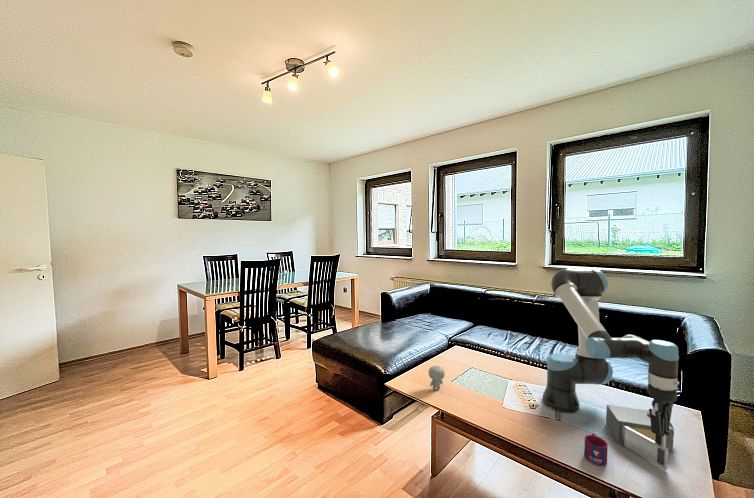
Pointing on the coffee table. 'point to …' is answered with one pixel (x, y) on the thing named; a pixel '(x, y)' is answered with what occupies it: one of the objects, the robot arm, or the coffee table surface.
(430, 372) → the figurine
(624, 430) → the side door
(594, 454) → the mug
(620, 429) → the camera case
